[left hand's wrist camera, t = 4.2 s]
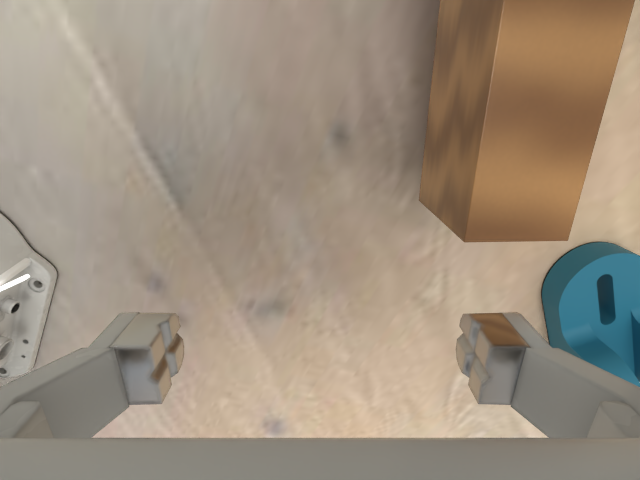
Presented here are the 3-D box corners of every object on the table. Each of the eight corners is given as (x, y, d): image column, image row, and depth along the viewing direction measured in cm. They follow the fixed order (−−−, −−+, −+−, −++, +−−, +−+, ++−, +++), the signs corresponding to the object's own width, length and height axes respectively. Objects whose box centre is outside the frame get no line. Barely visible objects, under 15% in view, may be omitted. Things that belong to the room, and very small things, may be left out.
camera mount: (638, 353, 45) (730, 423, 35) (555, 378, 46) (622, 454, 36) (632, 228, 39) (742, 272, 29) (535, 261, 40) (610, 314, 30)
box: (493, 199, 28) (568, 241, 20) (418, 200, 28) (464, 242, 20) (567, -197, 20) (746, -396, 12) (461, -200, 19) (569, -405, 12)
